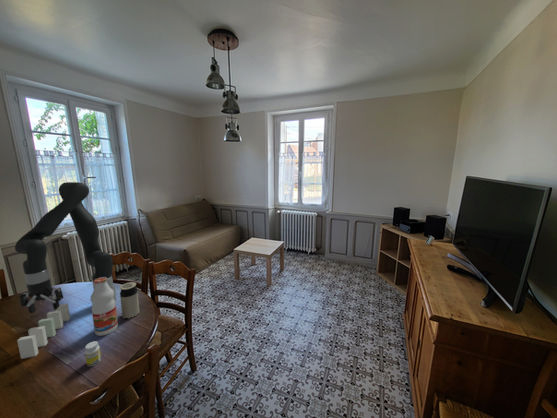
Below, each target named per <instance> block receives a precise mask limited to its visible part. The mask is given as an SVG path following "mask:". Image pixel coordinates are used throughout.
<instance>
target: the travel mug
mask: <svg viewBox="0 0 557 418" xmlns="http://www.w3.org/2000/svg"><path fill="white" fill-rule="evenodd" d="M136 285H137V283H136V282H134V281H133V282H132V281H130V282H126V283H123V284H121V285H120V286H119V290H120V292H119V295H120V296H119V297H120V304H121V314H122V318H123V319H125V318H128V319H132V318H134V316H135V317H136V316H138V315H139V314H140V303H139V294H138V288H137V286H136ZM138 313H139V314H138ZM137 314H138V315H137ZM131 317H132V318H131Z"/></svg>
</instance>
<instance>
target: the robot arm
mask: <svg viewBox="0 0 557 418" xmlns="http://www.w3.org/2000/svg"><path fill="white" fill-rule="evenodd" d="M58 192H59V193H58V194H59V196H60V197H61V199H62V201H60V203H58V204H57V205H56V206H55V207H53V208H52V209H50V210H49V211H47V212H46V213H45V214H44V215H43V216H42V217H41V218H40V219H39V220H38V222H37V223H36V224H35V225H34V226H33V228H32V229H30V230H28V231H27V232H26V233H25V234H23V235H22V236H21V237H20V238H19V239H18V240H17V242H16V243H15V246H14V249H15V252H17V253H19V254H20V255H21V254H23V255H26V260H24V261H23V263H22V268H23V272H24V280H25V286H26V289H27V291H25V292H23V293H21V294H20V295H19V300H20V306H21V307H27V309H28V313H30V314H34V313H35V312H36V306H35V302H39V301H45V300H46V301H48V302H51V303H52V308H53V311H55V310H56V309H57V308H58V307H59V305H60V301H61V300H62V299H63V298H64V295H63V291H62V288H61V287H57V288H52V280H51V276H50V272H49V270H48V266H47V265H48V264H47V261H46V258H47V253H48V247H47V246H48V245H47V244H46V243H45V241H44V240H43V239H45V238H46V237H51V236H52V235H53V234H54V233H55V232H56V230H57V229H58V228H59V226H60V225H61V224H62V223H63V221H64V220H65V219H66V218H67V217H68V215H70V218H71V220H72V224H73V225H74V228H75V231H76V234H77V235H78V238H79V240H80V242H81V245H82V247H83V251H84V255H85V258H86V262H87V263H86V264H88V266H90V267H93V268H94V273H93V274H92V276H91V280H92V288H93V290H94V288H95V284H94V280H95V279H97V278H101V277H106V278H107V284H108V285H109V287H110V288H111V289H112V290H113V291H114V297H113V298H114V300H116V301H117V293H116V286H115V285H114V281H113V273H114V272H113V271H114V265H113V262H114V261H113V257H112V255H111V254H110V253H108V252H105V251H103V250H102V248H101V247H100V245H99V244H100V243H99V236H100V235H99V233H100V230H99V227H98V223H97V220H96V219H95V217H94V216H93V215H92V214H91V212H89V210H88V209H86V207H85V206H84V204H83V202H84V200H85V199H86V198H87V197H88V196H89V194H90V189H89V186H88V185H86V184H85V183H83V182H79V181H77V182H76V181H73V182H72V181H71V182H69V181H67V182H63V183H61V184H60V185H59V187H58ZM29 297H30V298H31V299H30V300H29Z"/></svg>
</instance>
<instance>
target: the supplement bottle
mask: <svg viewBox="0 0 557 418" xmlns="http://www.w3.org/2000/svg"><path fill="white" fill-rule="evenodd" d="M84 350H85V351H84V356H85V361H86V366H87V367H93V366H96V365H97V364H99V363H100V361H101V360H102V355H101V354H102V353H101V346H100V345H99V343H98V341H97V340H95V341H91V342H89V343H87V344H86V345H85V347H84Z"/></svg>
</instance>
